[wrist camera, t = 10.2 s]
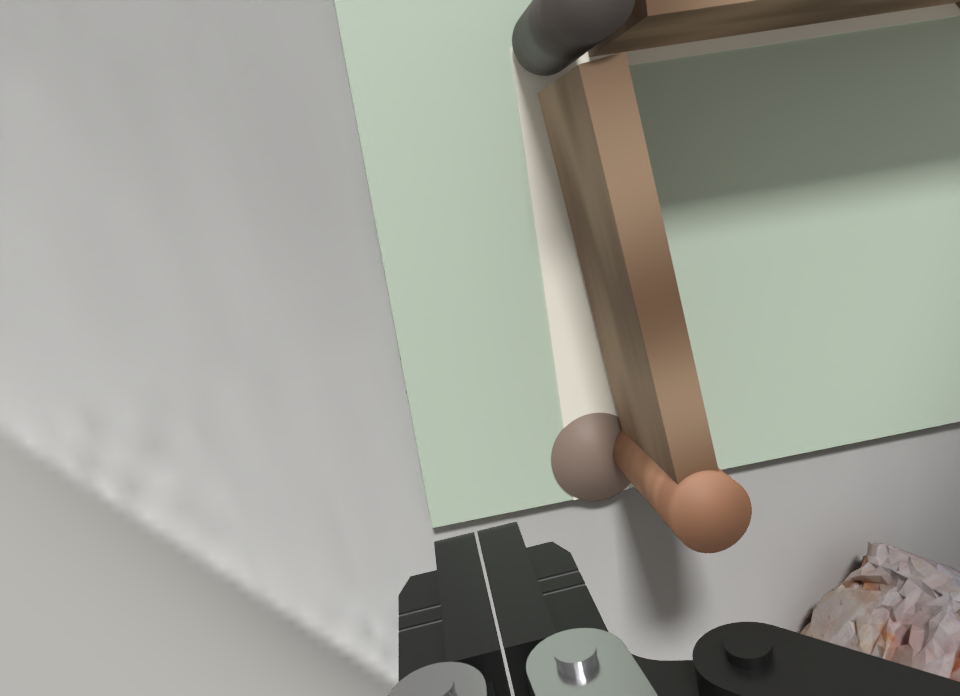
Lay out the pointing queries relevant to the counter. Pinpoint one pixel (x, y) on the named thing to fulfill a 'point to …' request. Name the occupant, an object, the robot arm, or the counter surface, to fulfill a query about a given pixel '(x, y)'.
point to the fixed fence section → (734, 19)
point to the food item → (895, 611)
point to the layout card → (690, 233)
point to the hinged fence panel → (629, 271)
